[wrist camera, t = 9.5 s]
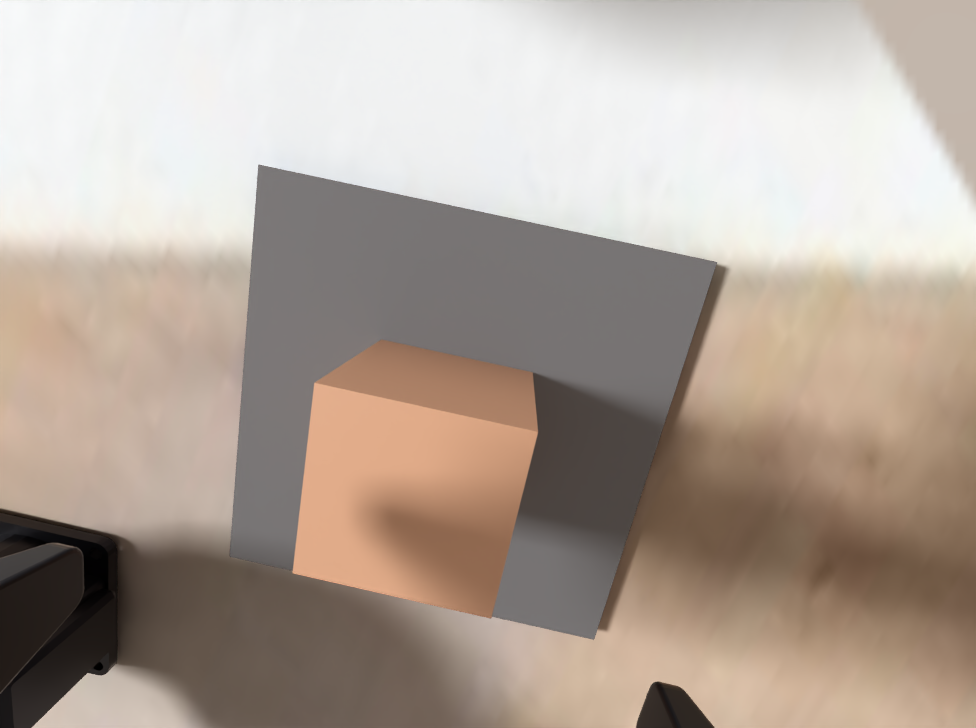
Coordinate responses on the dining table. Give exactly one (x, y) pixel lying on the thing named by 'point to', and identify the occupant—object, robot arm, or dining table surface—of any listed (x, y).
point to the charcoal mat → (475, 335)
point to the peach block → (416, 475)
